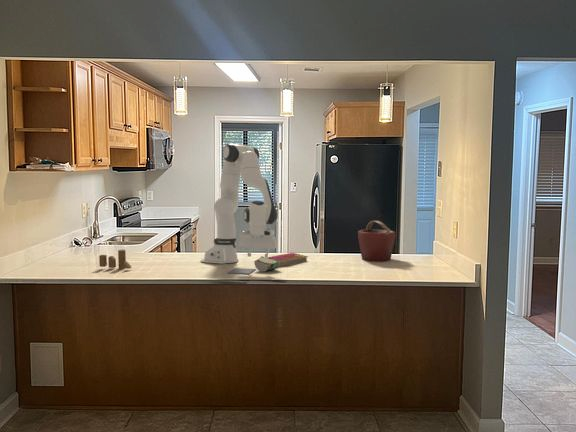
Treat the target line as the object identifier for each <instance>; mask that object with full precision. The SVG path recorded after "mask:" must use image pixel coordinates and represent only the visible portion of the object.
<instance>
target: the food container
mask: <svg viewBox="0 0 576 432" xmlns="http://www.w3.org/2000/svg"><path fill="white" fill-rule="evenodd" d="M253 263H254V268H255V269H256V270H258V271H259V272H260V273H266V272H267V271H273V270H275V269H277V268H279V267H278V265H279V263H280V261H276V260H273V259H270V258H267V257H265V256H264V255H261V256H259V258H257V259H256V260H254V261H253Z"/></svg>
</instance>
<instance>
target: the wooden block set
mask: <svg viewBox="0 0 576 432" xmlns="http://www.w3.org/2000/svg"><path fill="white" fill-rule="evenodd" d="M117 253H118V254H117V256H118V257H117V258H118V260H116V258H115V256H114V255H109V256H107V254H100V255H99V256H98V258H99V259H98V261H99V267H100V268H105V267H107V265H108V269H114V268H116V267H117V263H118V269H119V270H125V269H132V265H131V264H130V263H129V262H128V261H127V260H126V258H127V257H126V256H127V255H126V254H127V253H126V249H118V251H117ZM107 257H108V258H107ZM107 259H108V261H107ZM116 262H117V263H116Z"/></svg>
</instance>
